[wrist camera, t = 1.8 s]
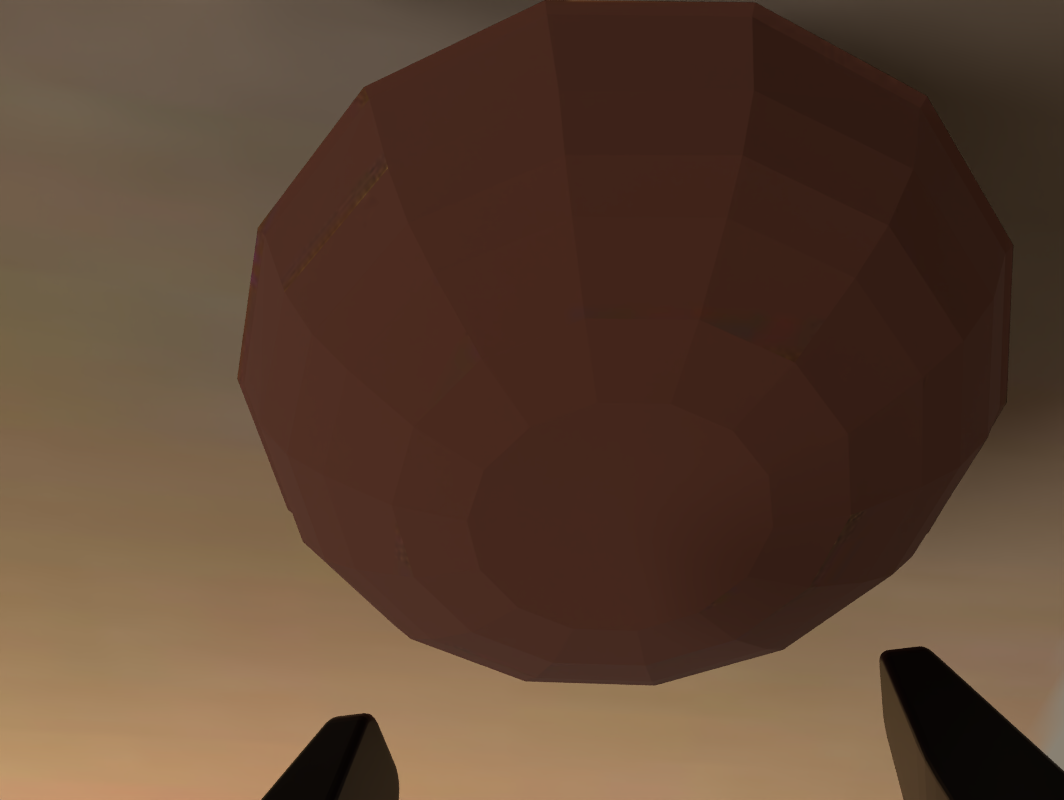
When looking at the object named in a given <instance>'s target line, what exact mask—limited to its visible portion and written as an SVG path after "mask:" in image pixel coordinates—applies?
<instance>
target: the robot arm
mask: <svg viewBox="0 0 1064 800" xmlns="http://www.w3.org/2000/svg"><path fill="white" fill-rule="evenodd" d="M879 663H880V677H881V691H882V704H883V716H884V723H885V729H886V734H887V738H888V742H889V746H890V750H891V753H892V757H893V761H894V765H895V769H896V772H897V776H898V780H899V784H900V788H901V791H902V795H903V799H904V800H1064V771H1063V770H1062V769H1061V768H1060V767H1059V766H1058V765H1057V764H1055V763H1054V762H1053V761H1052V760H1051V759H1050V758H1049V757H1048V756H1047V755H1045V754H1044V753H1043V752H1042V751H1041V750H1040V749H1039V748H1038V747H1037V746H1036V745H1034V744H1033V743H1032V742H1031V741H1030V740H1029V739H1028V738H1027V737H1026V736H1025V735H1023V734H1022V733H1021V732H1020V731H1019V730H1018V729H1017V728H1016V727H1015V726H1014V725H1012V724H1011V723H1010V722H1009V721H1008V720H1007V719H1006V718H1005V717H1004V716H1003V715H1001V714H1000V713H999V712H998V711H997V710H996V709H995V708H994V707H993V706H992V705H990V704H989V703H988V702H987V701H986V700H985V699H984V698H983V697H982V696H980V695H979V694H978V693H977V692H976V691H975V690H974V689H973V688H972V687H971V686H969V685H968V684H967V683H966V682H965V681H964V680H963V679H962V678H961V677H960V676H958V675H957V674H956V673H955V672H954V671H953V670H952V669H951V668H950V667H949V666H947V665H946V664H945V663H944V662H943V661H942V660H941V659H940V658H939V657H938V656H936V655H935V654H934V653H933V652H932V651H931V650H929V649H927V648H925V647H920V646H919V647H911V648H902V649H894V650H887V651H884V652H883V653H882V654H881V656H880V661H879ZM261 800H399V779H398V773H397V769H396V766H395V763H394V761H393V759H392V756H391V754H390V752H389V749H388V747H387V745H386V742H385V740H384V737H383V735H382V733H381V730H380V728H379V726H378V723H377V722H376V720H375V718H374V717H373V716H372V715H370V714H366V713H362V714H354V715H346V716H338V717H334V718H332V719H331V720H329V721H328V722H327V723H326V724H325V725H324V726H323V727H322V728H321V730H320V731H319V732H318V733H317V734H316V736H315V737H314V738H313V739H312V740H311V741H310V743H309V744H308V745H307V746H306V747H305V749H304V750H303V751H302V752H301V753H300V754H299V756H298V757H297V758H296V759H295V760H294V762H293V763H292V764H291V765H290V766H289V767H288V769H287V770H286V771H285V772H284V773H283V775H282V776H281V777H280V778H279V779H278V780H277V782H276V783H275V784H274V785H273V786H272V788H271V789H270V790H269V791H268V792H267V793H266V795H265V796H264V797H263V798H262V799H261Z"/></svg>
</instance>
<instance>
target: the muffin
mask: <svg viewBox="0 0 1064 800" xmlns="http://www.w3.org/2000/svg"><path fill="white" fill-rule="evenodd" d="M1012 262H1013V244H1012V242H1011V240H1010V239H1009V237H1008V235H1007V233H1006V232H1005V230H1004V228H1003V227H1002V225H1001V223H1000V221H999V220H998V218H997V216H996V214H995V213H994V211H993V209H992V208H991V206H990V204H989V202H988V201H987V199H986V197H985V195H984V194H983V192H982V190H981V189H980V187H979V185H978V183H977V182H976V180H975V178H974V176H973V175H972V173H971V171H970V170H969V168H968V166H967V164H966V163H965V161H964V159H963V157H962V156H961V154H960V152H959V151H958V149H957V147H956V145H955V144H954V142H953V140H952V138H951V137H950V135H949V133H948V131H947V130H946V128H945V126H944V125H943V123H942V121H941V119H940V118H939V116H938V114H937V112H936V111H935V109H934V107H933V106H932V104H931V102H930V100H929V99H928V97H927V96H926V95H924V94H922V93H920V92H919V91H917V90H915V89H913V88H911V87H909V86H908V85H906V84H904V83H902V82H900V81H898V80H897V79H895V78H893V77H891V76H889V75H887V74H886V73H884V72H882V71H880V70H878V69H876V68H875V67H873V66H871V65H869V64H867V63H865V62H864V61H862V60H860V59H858V58H856V57H854V56H853V55H851V54H849V53H847V52H845V51H843V50H842V49H840V48H838V47H836V46H834V45H832V44H831V43H829V42H827V41H825V40H823V39H821V38H820V37H818V36H816V35H814V34H812V33H810V32H808V31H807V30H805V29H803V28H801V27H799V26H797V25H796V24H794V23H792V22H790V21H788V20H786V19H785V18H783V17H781V16H779V15H777V14H775V13H774V12H772V11H770V10H768V9H766V8H764V7H763V6H761V5H759V4H757V3H755V2H670V1H581V0H544V1H542V2H540V3H538V4H536V5H534V6H532V7H530V8H528V9H526V10H524V11H521V12H519V13H517V14H515V15H513V16H511V17H509V18H507V19H505V20H503V21H501V22H499V23H497V24H494V25H492V26H490V27H488V28H486V29H484V30H482V31H480V32H478V33H476V34H474V35H472V36H469V37H467V38H465V39H463V40H461V41H459V42H457V43H455V44H453V45H451V46H449V47H447V48H444V49H442V50H440V51H438V52H436V53H434V54H432V55H430V56H428V57H426V58H424V59H422V60H420V61H417V62H415V63H413V64H411V65H409V66H407V67H405V68H403V69H401V70H399V71H397V72H395V73H392V74H390V75H388V76H386V77H384V78H382V79H380V80H378V81H376V82H374V83H372V84H370V85H368V86H365V87H364V88H363V89H362V90H361V92H360V93H359V94H358V96H357V97H356V98H355V100H354V101H353V102H352V104H351V105H350V106H349V108H348V109H347V110H346V112H345V113H344V114H343V116H342V117H341V118H340V120H339V121H338V122H337V124H336V125H335V126H334V128H333V129H332V130H331V132H330V133H329V134H328V136H327V137H326V138H325V139H324V141H323V142H322V143H321V145H320V146H319V147H318V149H317V150H316V151H315V153H314V154H313V155H312V157H311V158H310V159H309V161H308V162H307V163H306V165H305V166H304V167H303V169H302V170H301V171H300V173H299V174H298V175H297V177H296V178H295V179H294V181H293V182H292V183H291V185H290V186H289V187H288V189H287V190H286V191H285V193H284V194H283V195H282V197H281V198H280V199H279V201H278V202H277V203H276V205H275V206H274V207H273V208H272V210H271V211H270V212H269V214H268V215H267V216H266V218H265V219H264V220H263V222H262V223H261V224H260V226H259V227H258V231H257V238H256V246H255V253H254V260H253V268H252V275H251V282H250V290H249V297H248V304H247V312H246V319H245V326H244V334H243V341H242V348H241V356H240V363H239V370H238V378H237V379H238V381H239V384H240V387H241V389H242V392H243V394H244V397H245V400H246V402H247V405H248V407H249V410H250V413H251V415H252V418H253V420H254V423H255V425H256V428H257V431H258V433H259V436H260V438H261V441H262V444H263V446H264V449H265V451H266V454H267V456H268V459H269V462H270V464H271V467H272V469H273V472H274V475H275V477H276V480H277V482H278V485H279V487H280V490H281V493H282V495H283V498H284V500H285V503H286V506H287V508H288V510H289V511H290V512H292V513H293V516H294V519H295V521H296V524H297V527H298V529H299V532H300V535H301V538H302V540H303V542H304V543H305V544H306V545H307V546H308V547H309V548H311V549H312V550H313V551H314V552H315V553H316V554H317V555H318V556H319V557H320V558H321V559H323V560H324V561H325V562H326V563H327V564H328V565H329V566H330V567H331V568H332V569H333V570H335V571H336V572H337V573H338V574H339V575H340V576H341V577H342V578H343V579H344V580H346V581H347V582H348V583H349V584H350V585H351V586H352V587H353V588H354V589H355V590H356V591H358V592H359V593H360V594H361V595H362V596H363V597H364V598H365V599H366V600H367V601H368V602H370V603H371V604H372V605H373V606H374V607H375V608H376V609H377V610H378V611H379V612H381V613H382V614H383V615H384V616H385V617H386V618H387V619H388V620H389V621H390V622H391V623H393V624H394V625H395V626H396V627H397V628H398V629H400V630H401V631H402V632H403V633H404V634H406V635H407V636H408V637H409V638H410V639H413V640H416V641H418V642H421V643H424V644H426V645H429V646H432V647H434V648H437V649H440V650H443V651H445V652H448V653H451V654H453V655H456V656H459V657H461V658H464V659H467V660H470V661H472V662H475V663H478V664H480V665H483V666H486V667H488V668H491V669H494V670H497V671H499V672H502V673H505V674H507V675H510V676H513V677H515V678H518V679H521V680H524V681H532V682H563V683H595V684H626V685H658V684H662V683H665V682H669V681H673V680H676V679H680V678H683V677H687V676H691V675H694V674H698V673H701V672H705V671H708V670H712V669H716V668H719V667H723V666H726V665H730V664H733V663H737V662H741V661H744V660H748V659H751V658H755V657H759V656H762V655H766V654H769V653H773V652H776V651H780V650H783V649H785V648H786V647H788V646H789V645H791V644H792V643H793V642H795V641H796V640H798V639H799V638H801V637H802V636H804V635H805V634H807V633H808V632H809V631H811V630H812V629H814V628H815V627H817V626H818V625H820V624H821V623H823V622H824V621H825V620H827V619H828V618H830V617H831V616H833V615H834V614H836V613H837V612H839V611H840V610H841V609H843V608H844V607H846V606H847V605H849V604H850V603H852V602H853V601H855V600H856V599H857V598H859V597H860V596H862V595H863V594H865V593H866V592H868V591H869V590H871V589H872V588H874V587H875V586H876V585H878V584H879V583H881V582H882V581H884V580H885V579H887V578H888V577H890V576H891V575H892V574H893V573H894V572H896V571H897V570H898V569H899V568H900V567H901V566H902V565H903V564H904V563H905V562H906V561H908V560H909V559H910V558H911V557H912V556H913V554H914V553H915V551H916V550H917V548H918V546H919V545H920V543H921V542H922V540H923V538H924V537H925V535H926V534H927V533H928V532H929V530H930V529H931V527H932V525H933V524H934V522H935V521H936V519H937V517H938V516H939V514H940V512H941V511H942V509H943V507H944V506H945V504H946V502H947V501H948V499H949V498H950V496H951V494H952V493H953V491H954V490H955V488H956V487H957V485H958V483H959V482H960V480H961V479H962V477H963V475H964V474H965V472H966V471H967V469H968V468H969V466H970V464H971V463H972V461H973V460H974V458H975V457H976V455H977V453H978V452H979V450H980V449H981V447H982V446H983V444H984V442H985V441H986V439H987V438H988V435H989V433H990V430H991V427H992V426H993V424H994V422H995V421H996V419H997V417H998V416H999V414H1000V412H1001V411H1002V409H1003V407H1004V406H1005V404H1006V402H1007V381H1008V357H1009V334H1010V310H1011V286H1012Z"/></svg>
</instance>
